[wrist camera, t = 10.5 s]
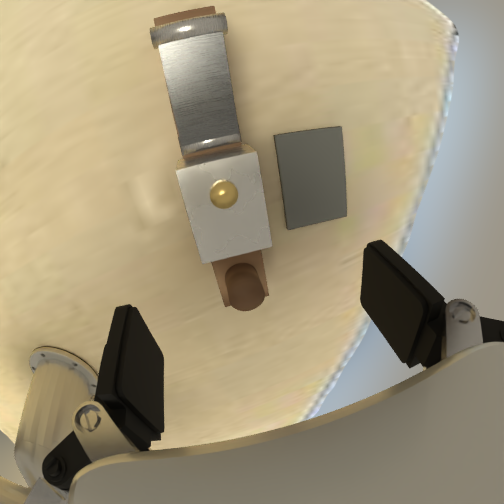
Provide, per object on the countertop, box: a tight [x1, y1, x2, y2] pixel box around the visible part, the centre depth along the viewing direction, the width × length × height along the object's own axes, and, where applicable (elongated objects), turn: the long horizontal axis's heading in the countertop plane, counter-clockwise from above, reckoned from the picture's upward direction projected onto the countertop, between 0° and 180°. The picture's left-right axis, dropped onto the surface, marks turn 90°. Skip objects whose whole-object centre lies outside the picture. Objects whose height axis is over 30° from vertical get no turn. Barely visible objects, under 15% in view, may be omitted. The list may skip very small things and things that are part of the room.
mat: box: [274, 126, 347, 230], centre depth 28 cm, size 10×7×1 cm
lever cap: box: [176, 144, 272, 264], centre depth 20 cm, size 7×5×4 cm
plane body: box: [154, 6, 269, 311], centre depth 22 cm, size 26×4×8 cm, turn 10°
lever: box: [150, 13, 240, 155], centre depth 16 cm, size 2×5×10 cm
